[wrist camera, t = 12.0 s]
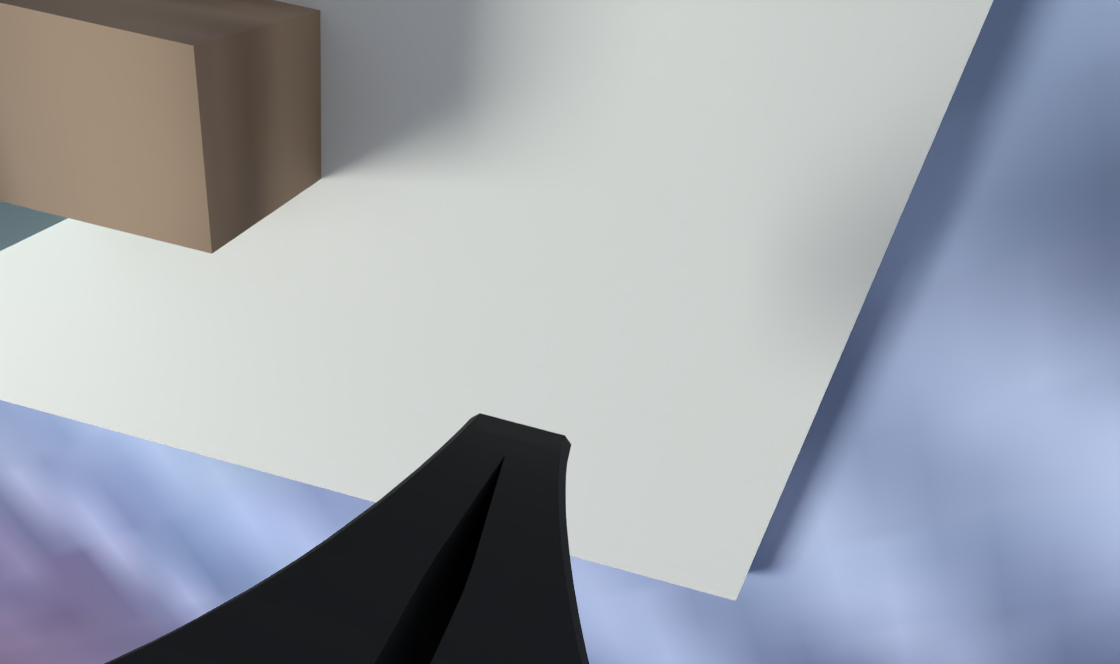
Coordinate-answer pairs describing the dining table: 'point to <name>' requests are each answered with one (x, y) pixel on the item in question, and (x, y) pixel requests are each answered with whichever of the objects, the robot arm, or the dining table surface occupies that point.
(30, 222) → the teal block
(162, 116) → the slat
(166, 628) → the dining table surface
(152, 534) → the dining table surface
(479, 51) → the board
